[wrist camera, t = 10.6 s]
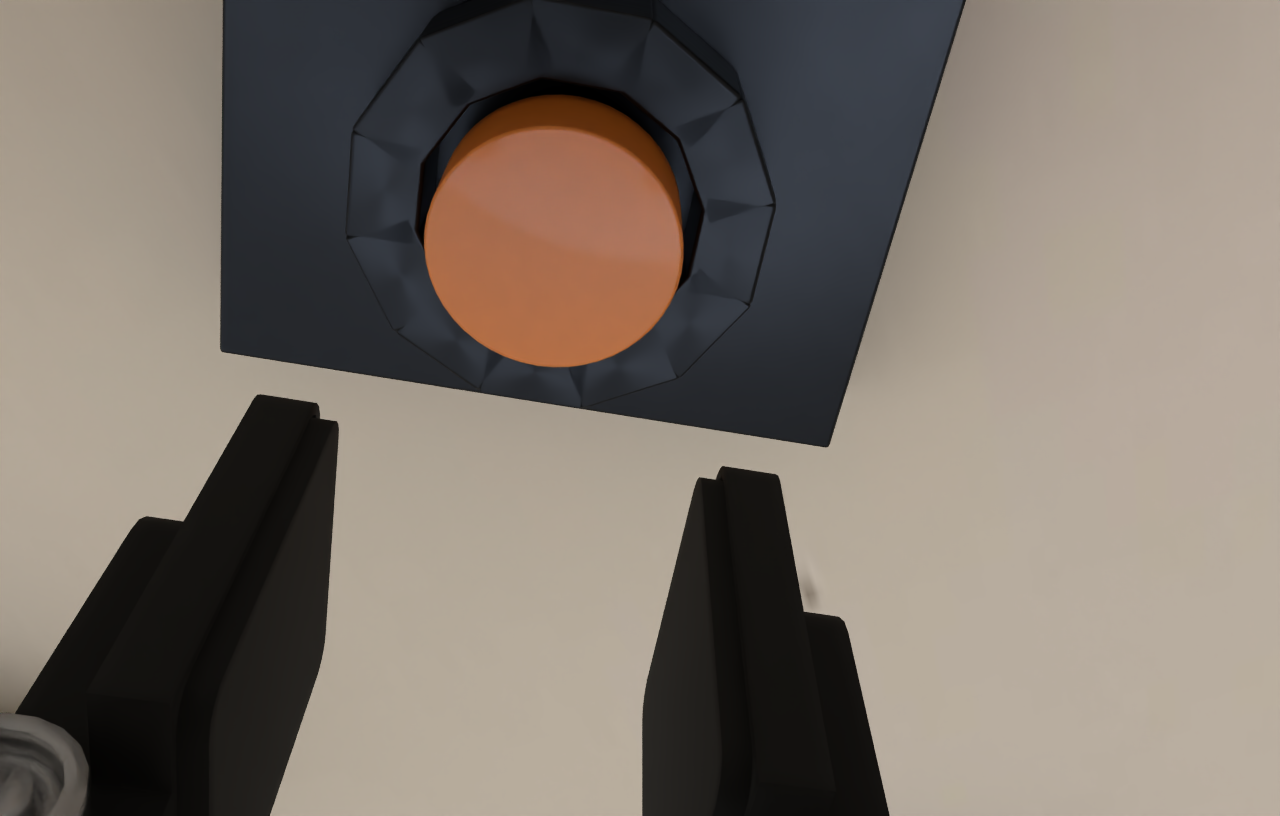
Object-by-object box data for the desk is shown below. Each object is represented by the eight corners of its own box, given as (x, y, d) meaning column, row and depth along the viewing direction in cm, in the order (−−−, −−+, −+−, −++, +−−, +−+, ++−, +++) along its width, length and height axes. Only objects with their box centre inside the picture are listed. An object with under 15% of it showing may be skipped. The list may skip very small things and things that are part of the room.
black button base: (251, 304, 25) (187, 399, 21) (262, -171, 20) (184, -148, 17) (815, 395, 26) (842, 500, 22) (942, -37, 21) (1000, 10, 18)
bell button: (429, 301, 21) (412, 347, 19) (453, 72, 19) (436, 103, 17) (655, 338, 21) (657, 386, 20) (702, 118, 19) (708, 152, 18)
